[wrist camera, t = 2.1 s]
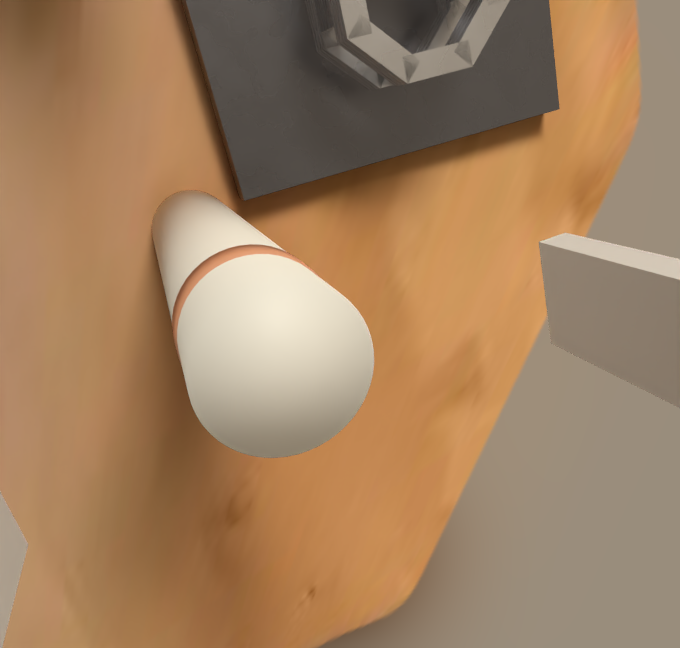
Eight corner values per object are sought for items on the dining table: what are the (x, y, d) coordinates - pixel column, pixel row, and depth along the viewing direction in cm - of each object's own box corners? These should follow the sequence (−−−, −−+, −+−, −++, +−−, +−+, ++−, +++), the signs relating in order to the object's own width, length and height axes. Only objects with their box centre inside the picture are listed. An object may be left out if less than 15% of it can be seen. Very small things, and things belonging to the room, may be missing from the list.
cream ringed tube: (166, 280, 34) (219, 487, 14) (138, 202, 33) (154, 313, 13) (243, 256, 35) (392, 419, 15) (220, 179, 34) (352, 249, 14)
